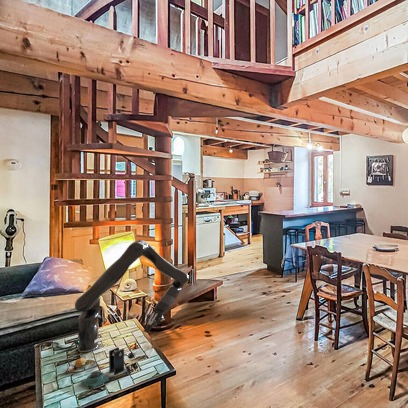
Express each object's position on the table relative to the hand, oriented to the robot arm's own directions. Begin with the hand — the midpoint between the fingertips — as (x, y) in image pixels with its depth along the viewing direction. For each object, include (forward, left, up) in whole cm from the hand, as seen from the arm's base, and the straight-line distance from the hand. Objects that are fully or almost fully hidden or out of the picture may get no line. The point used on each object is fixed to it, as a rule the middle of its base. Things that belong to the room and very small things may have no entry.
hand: (145, 332), depth 177 cm
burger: (-21, -21, -16) cm, 34 cm away
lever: (0, -13, -9) cm, 15 cm away
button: (-1, -25, -12) cm, 28 cm away
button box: (-1, -25, -16) cm, 30 cm away
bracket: (0, -16, -16) cm, 22 cm away
